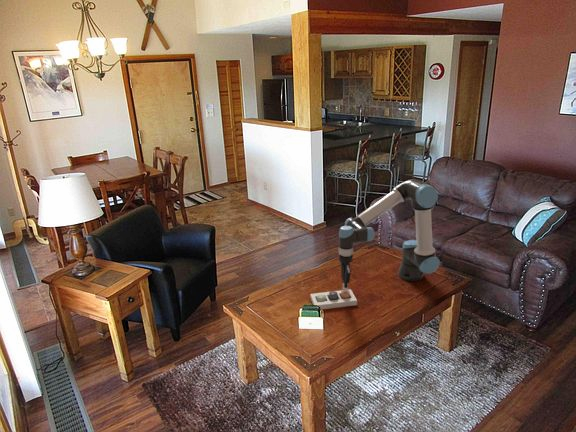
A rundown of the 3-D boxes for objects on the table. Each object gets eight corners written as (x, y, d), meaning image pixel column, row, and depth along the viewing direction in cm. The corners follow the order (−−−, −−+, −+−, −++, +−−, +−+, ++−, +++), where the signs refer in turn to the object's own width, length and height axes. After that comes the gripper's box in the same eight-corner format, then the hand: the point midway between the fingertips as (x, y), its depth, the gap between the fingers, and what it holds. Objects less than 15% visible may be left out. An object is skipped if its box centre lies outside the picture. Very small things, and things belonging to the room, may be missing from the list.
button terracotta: (348, 293, 231) (348, 289, 229) (350, 298, 226) (350, 293, 225) (340, 294, 230) (340, 290, 229) (342, 299, 225) (342, 294, 224)
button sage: (324, 298, 229) (324, 294, 228) (326, 303, 225) (326, 298, 224) (316, 299, 229) (316, 295, 228) (318, 304, 224) (318, 299, 223)
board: (350, 293, 235) (350, 289, 234) (357, 305, 224) (357, 300, 223) (310, 298, 232) (310, 294, 231) (314, 310, 221) (314, 305, 220)
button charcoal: (336, 295, 230) (336, 290, 229) (338, 299, 225) (338, 295, 224) (328, 296, 229) (328, 291, 228) (330, 300, 225) (330, 296, 223)
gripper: (335, 249, 224) (335, 286, 232) (342, 259, 212) (341, 298, 220) (348, 248, 225) (348, 284, 233) (356, 258, 213) (355, 296, 221)
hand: (345, 291), depth 227 cm, fingers closed
